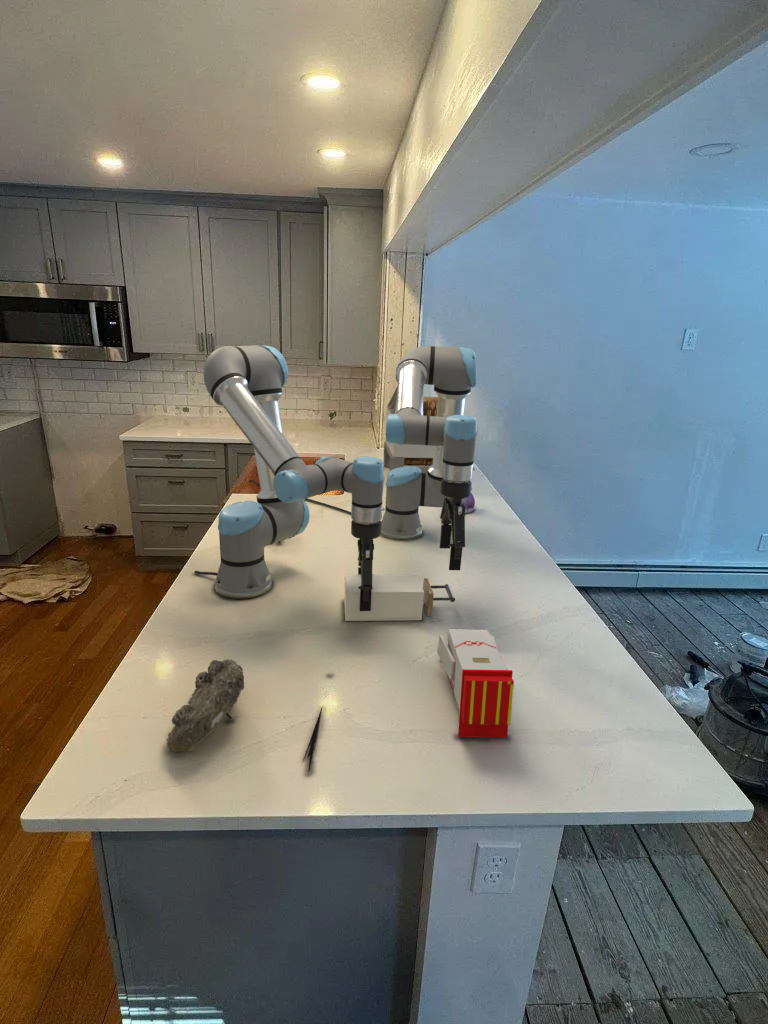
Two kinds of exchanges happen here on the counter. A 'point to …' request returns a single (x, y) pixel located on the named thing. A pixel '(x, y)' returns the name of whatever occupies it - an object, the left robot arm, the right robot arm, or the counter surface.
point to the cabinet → (385, 598)
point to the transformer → (409, 453)
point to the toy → (478, 682)
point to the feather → (313, 740)
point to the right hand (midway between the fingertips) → (449, 558)
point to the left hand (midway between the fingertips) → (363, 599)
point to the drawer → (429, 595)
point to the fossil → (206, 705)
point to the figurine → (469, 503)
